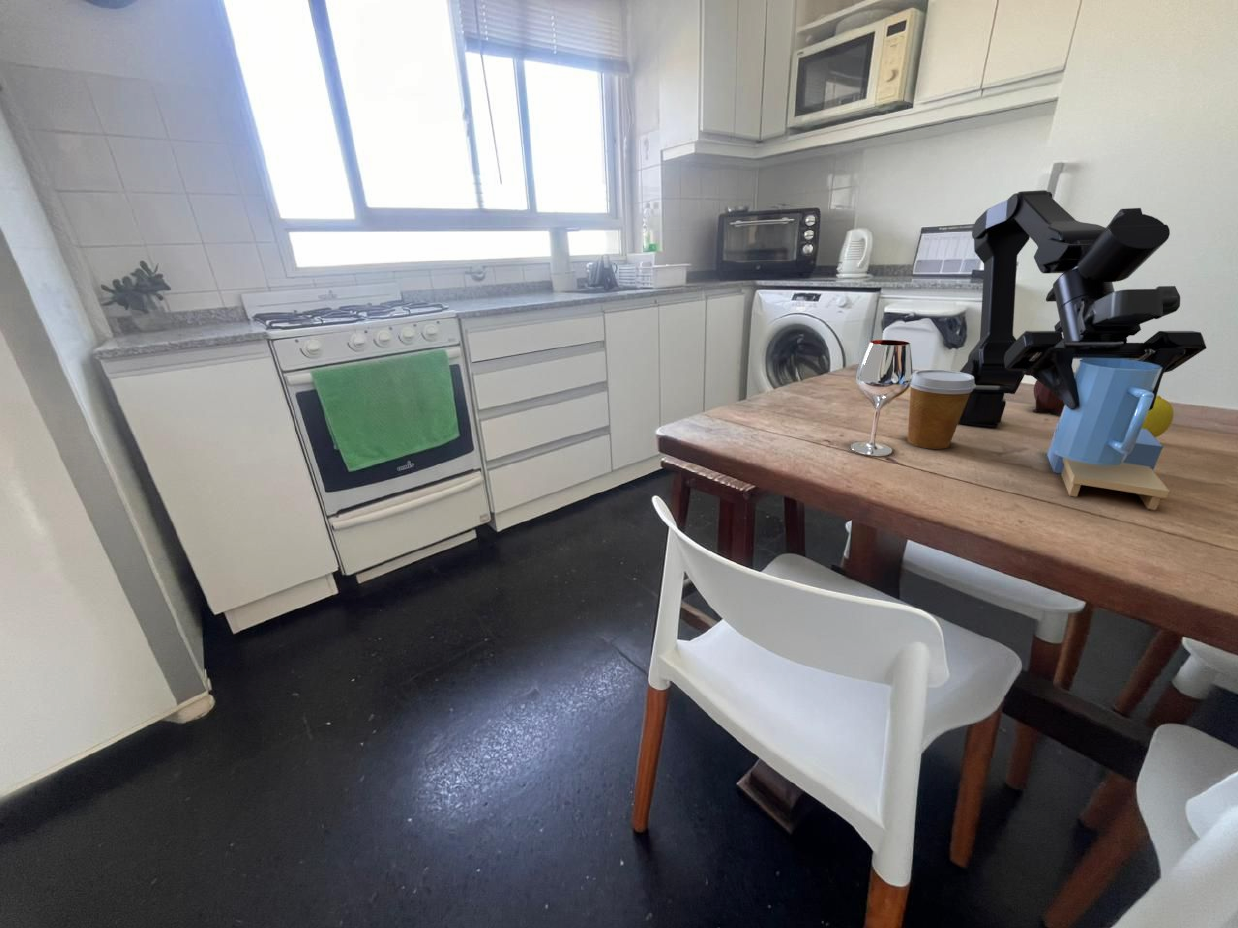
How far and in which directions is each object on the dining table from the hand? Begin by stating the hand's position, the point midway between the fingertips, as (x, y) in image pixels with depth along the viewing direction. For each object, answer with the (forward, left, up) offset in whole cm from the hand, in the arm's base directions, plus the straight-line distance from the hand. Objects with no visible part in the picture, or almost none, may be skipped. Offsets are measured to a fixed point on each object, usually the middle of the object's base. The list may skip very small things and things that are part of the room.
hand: (1110, 409), depth 61 cm
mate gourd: (+1, +46, -13) cm, 47 cm away
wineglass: (-26, +7, -13) cm, 30 cm away
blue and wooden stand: (+3, +9, -12) cm, 16 cm away
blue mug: (0, 0, -7) cm, 7 cm away
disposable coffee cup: (-18, +15, -13) cm, 26 cm away
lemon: (+12, +32, -13) cm, 36 cm away
